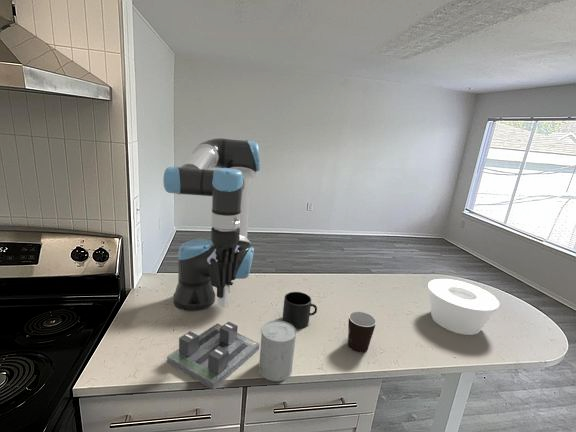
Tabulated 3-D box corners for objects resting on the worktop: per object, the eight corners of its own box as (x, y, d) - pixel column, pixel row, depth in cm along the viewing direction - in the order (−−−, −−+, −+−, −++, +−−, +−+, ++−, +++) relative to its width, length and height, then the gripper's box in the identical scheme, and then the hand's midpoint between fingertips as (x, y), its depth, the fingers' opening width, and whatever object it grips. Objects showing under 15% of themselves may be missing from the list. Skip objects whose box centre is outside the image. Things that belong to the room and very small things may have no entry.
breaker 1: (179, 351, 92) (179, 337, 91) (189, 344, 95) (190, 330, 94) (187, 356, 90) (188, 342, 89) (198, 349, 94) (198, 335, 93)
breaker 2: (208, 368, 87) (208, 353, 86) (218, 360, 90) (218, 345, 89) (218, 374, 85) (218, 358, 84) (228, 365, 89) (228, 350, 87)
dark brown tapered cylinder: (366, 358, 100) (371, 330, 97) (340, 347, 104) (344, 319, 101) (377, 340, 109) (382, 313, 107) (353, 330, 114) (357, 304, 111)
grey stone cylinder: (258, 356, 96) (261, 320, 93) (290, 357, 97) (294, 321, 94) (258, 381, 87) (261, 341, 84) (294, 381, 88) (298, 342, 85)
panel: (167, 362, 91) (167, 356, 90) (216, 328, 108) (217, 323, 107) (213, 390, 83) (213, 383, 82) (259, 349, 100) (259, 343, 99)
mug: (318, 329, 112) (321, 305, 110) (283, 328, 111) (285, 305, 109) (313, 314, 121) (316, 292, 119) (281, 313, 120) (283, 291, 118)
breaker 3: (219, 340, 98) (219, 326, 97) (228, 334, 102) (228, 320, 101) (228, 345, 97) (228, 331, 96) (236, 338, 100) (237, 325, 99)
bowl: (486, 316, 132) (494, 289, 129) (495, 349, 110) (504, 318, 107) (423, 299, 141) (429, 273, 138) (420, 326, 120) (426, 297, 117)
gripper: (219, 236, 80) (216, 320, 86) (251, 225, 91) (247, 300, 97) (197, 229, 83) (196, 310, 90) (230, 219, 94) (227, 292, 101)
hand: (222, 305), depth 93 cm, fingers closed
